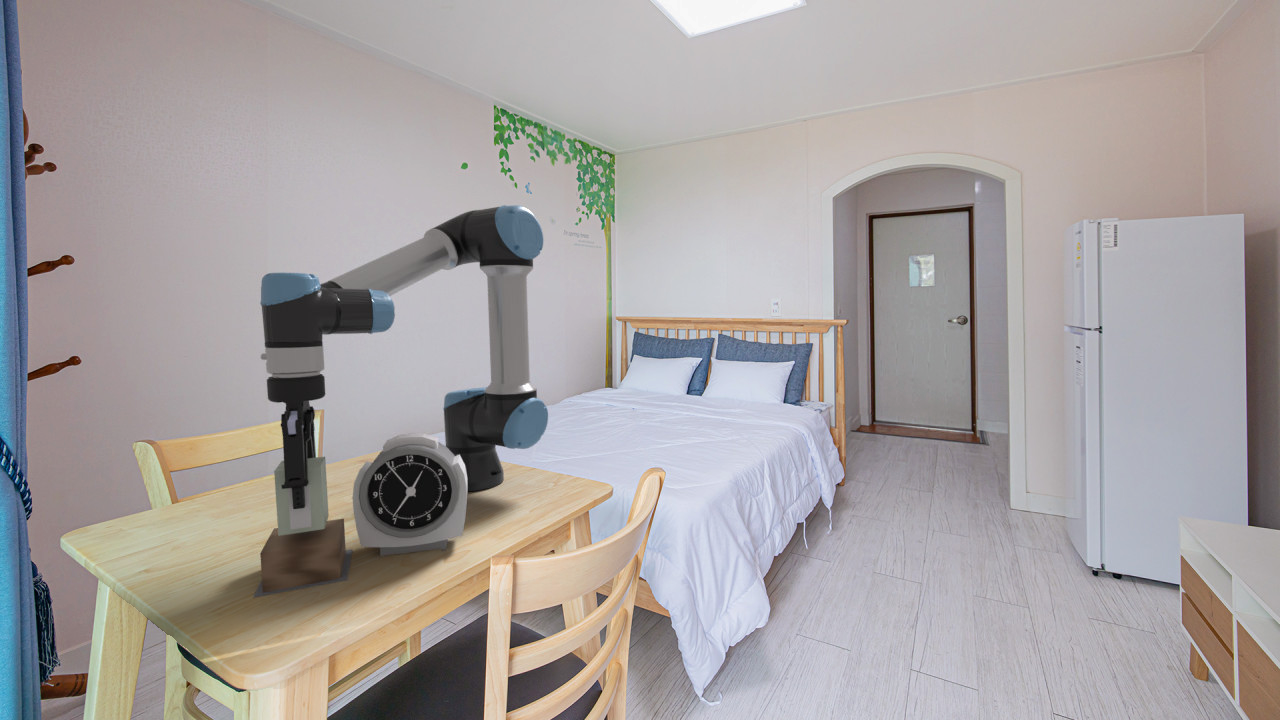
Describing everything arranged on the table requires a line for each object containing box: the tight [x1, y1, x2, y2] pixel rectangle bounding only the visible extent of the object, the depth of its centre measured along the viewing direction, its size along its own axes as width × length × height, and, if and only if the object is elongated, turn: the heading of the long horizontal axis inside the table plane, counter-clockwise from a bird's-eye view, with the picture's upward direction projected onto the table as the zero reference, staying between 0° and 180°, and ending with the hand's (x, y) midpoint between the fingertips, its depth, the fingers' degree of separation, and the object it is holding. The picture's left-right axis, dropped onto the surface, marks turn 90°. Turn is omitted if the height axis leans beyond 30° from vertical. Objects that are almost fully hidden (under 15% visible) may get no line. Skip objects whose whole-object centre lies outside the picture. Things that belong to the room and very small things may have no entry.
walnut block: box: [260, 518, 347, 593], centre depth 85 cm, size 10×10×6 cm
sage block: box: [273, 456, 329, 536], centre depth 84 cm, size 6×6×10 cm
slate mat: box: [252, 548, 353, 599], centre depth 85 cm, size 12×12×1 cm
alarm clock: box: [351, 432, 468, 557], centre depth 94 cm, size 18×8×20 cm, turn 106°
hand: (304, 519), depth 84 cm, fingers closed on sage block, 6 cm apart
